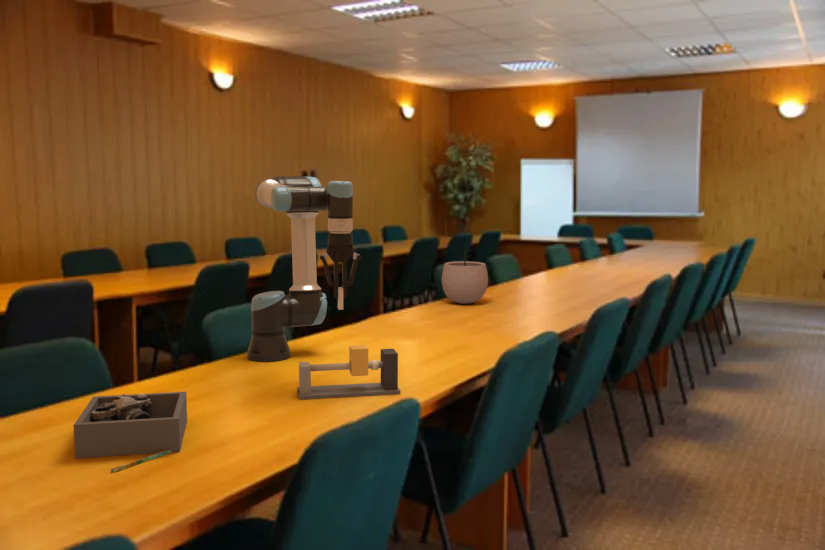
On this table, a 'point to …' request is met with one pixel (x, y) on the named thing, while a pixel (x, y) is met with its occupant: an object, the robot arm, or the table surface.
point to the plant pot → (464, 280)
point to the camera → (123, 409)
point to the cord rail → (351, 390)
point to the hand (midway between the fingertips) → (340, 308)
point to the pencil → (141, 460)
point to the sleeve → (358, 360)
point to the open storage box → (133, 428)
